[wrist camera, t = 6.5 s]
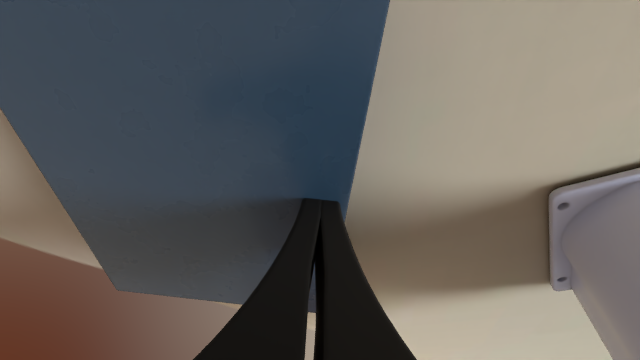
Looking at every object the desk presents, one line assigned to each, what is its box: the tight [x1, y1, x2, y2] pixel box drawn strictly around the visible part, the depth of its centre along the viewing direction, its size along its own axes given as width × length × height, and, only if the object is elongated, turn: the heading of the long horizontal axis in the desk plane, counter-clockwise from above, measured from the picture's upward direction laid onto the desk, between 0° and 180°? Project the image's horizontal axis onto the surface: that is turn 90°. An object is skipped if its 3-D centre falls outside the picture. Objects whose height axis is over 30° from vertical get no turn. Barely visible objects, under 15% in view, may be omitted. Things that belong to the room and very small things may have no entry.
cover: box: [0, 0, 390, 313], centre depth 13 cm, size 11×15×1 cm
